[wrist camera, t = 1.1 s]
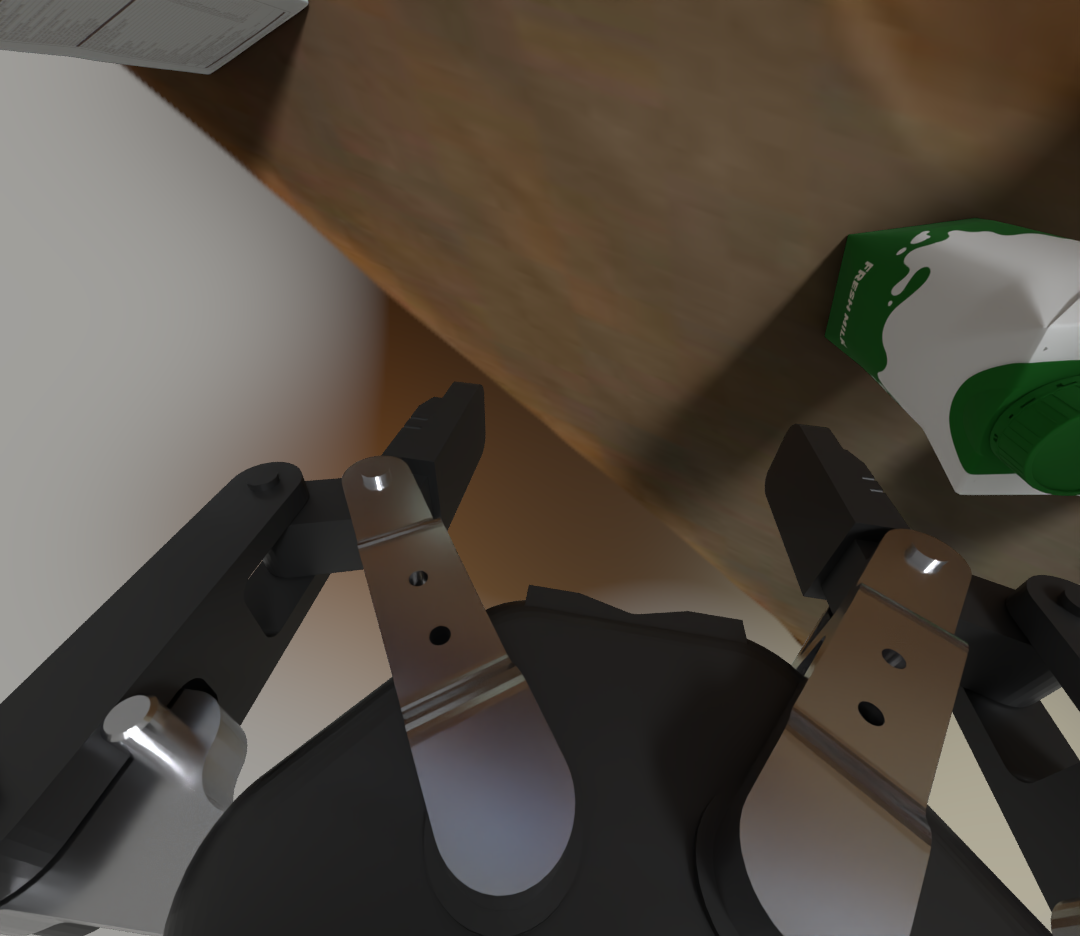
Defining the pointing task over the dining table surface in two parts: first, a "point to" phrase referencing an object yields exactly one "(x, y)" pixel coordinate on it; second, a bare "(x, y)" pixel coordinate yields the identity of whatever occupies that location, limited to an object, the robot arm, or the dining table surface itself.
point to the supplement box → (143, 29)
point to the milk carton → (973, 346)
